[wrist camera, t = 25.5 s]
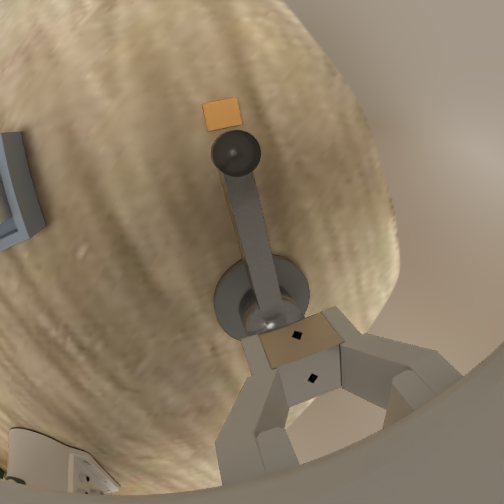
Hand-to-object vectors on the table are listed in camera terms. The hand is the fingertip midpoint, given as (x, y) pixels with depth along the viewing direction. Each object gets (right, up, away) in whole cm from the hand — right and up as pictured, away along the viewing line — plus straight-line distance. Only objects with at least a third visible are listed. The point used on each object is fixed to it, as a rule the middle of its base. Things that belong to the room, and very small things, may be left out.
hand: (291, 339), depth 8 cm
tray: (-21, +7, +7) cm, 24 cm away
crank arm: (-1, +3, +12) cm, 13 cm away
